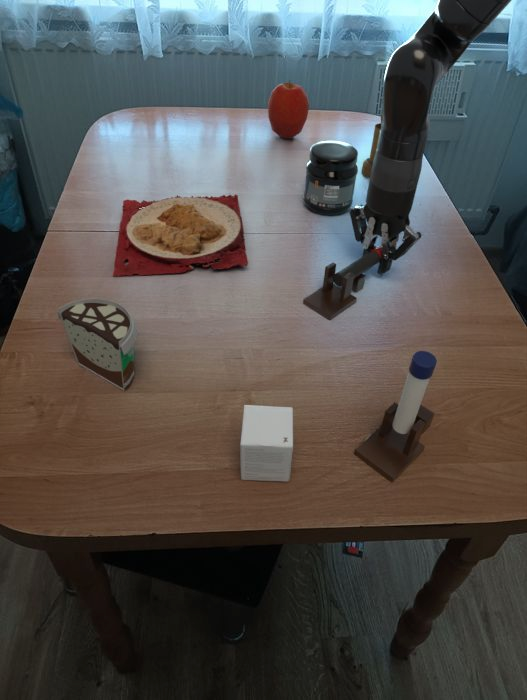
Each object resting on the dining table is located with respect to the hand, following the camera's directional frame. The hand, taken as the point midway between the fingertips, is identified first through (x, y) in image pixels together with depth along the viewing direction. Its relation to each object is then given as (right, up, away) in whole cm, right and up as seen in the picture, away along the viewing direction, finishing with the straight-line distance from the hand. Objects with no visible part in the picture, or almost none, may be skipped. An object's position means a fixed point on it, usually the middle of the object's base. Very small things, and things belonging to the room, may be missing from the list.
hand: (374, 268), depth 97 cm
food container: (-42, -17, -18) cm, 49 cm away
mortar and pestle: (+6, +27, +30) cm, 41 cm away
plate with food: (-36, +7, +8) cm, 38 cm away
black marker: (-3, -1, -4) cm, 5 cm away
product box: (-20, -29, -29) cm, 46 cm away
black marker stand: (-8, -6, -5) cm, 11 cm away
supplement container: (-6, +16, +19) cm, 26 cm away
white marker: (-2, -19, -33) cm, 38 cm away
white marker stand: (-3, -27, -27) cm, 38 cm away
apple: (-14, +46, +39) cm, 62 cm away
